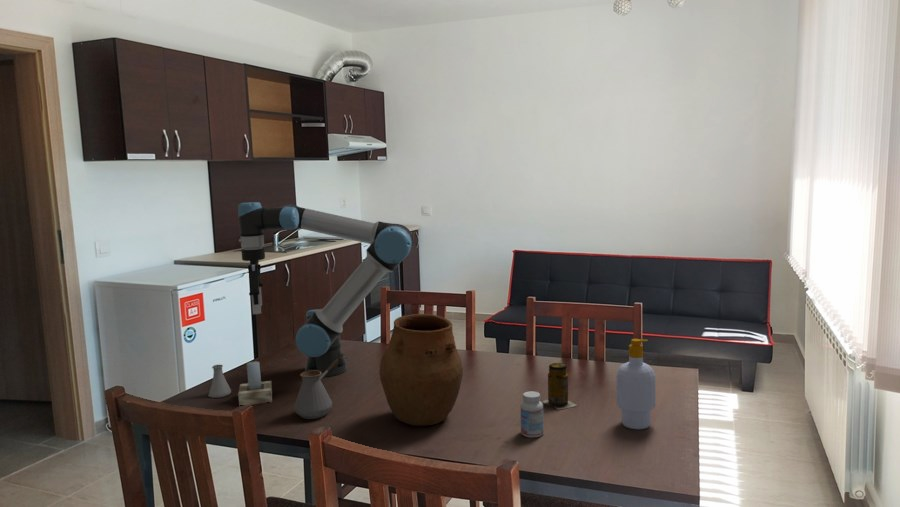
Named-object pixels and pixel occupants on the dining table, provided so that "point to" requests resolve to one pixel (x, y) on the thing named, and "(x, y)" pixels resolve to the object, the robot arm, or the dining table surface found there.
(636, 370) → the soap bottle
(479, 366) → the dining table surface
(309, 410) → the coffee pot
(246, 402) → the socket block
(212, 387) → the flask
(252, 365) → the peg
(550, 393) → the condiment
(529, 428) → the pill bottle
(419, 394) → the pot
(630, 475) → the dining table surface
